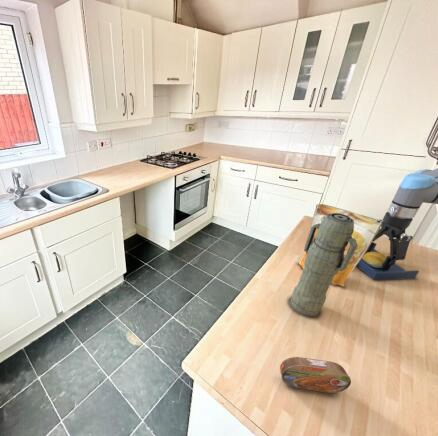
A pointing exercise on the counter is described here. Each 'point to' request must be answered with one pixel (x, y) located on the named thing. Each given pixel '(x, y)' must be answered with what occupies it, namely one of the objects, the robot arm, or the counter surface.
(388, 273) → the scoop
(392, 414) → the counter surface
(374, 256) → the bread roll
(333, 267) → the thermos
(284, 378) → the tin
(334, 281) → the pancake mix bag
